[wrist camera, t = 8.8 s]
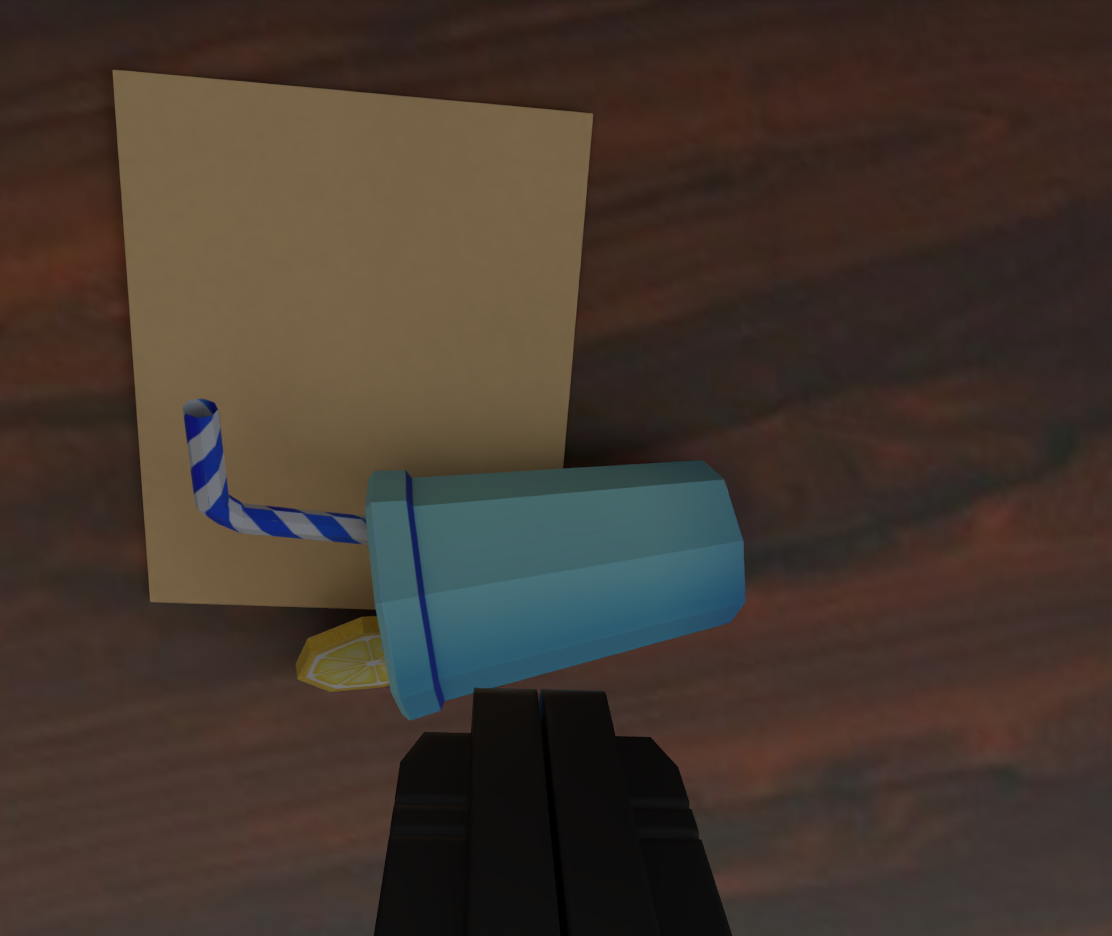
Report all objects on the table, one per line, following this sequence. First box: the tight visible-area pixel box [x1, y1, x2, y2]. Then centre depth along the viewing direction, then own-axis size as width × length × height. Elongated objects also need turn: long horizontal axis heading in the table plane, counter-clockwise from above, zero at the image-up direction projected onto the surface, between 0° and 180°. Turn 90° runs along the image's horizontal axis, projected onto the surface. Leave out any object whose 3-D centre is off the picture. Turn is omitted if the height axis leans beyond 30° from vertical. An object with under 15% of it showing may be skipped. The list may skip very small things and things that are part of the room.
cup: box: [182, 398, 745, 720], centre depth 27 cm, size 14×8×15 cm
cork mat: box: [113, 70, 593, 610], centre depth 28 cm, size 14×17×1 cm
